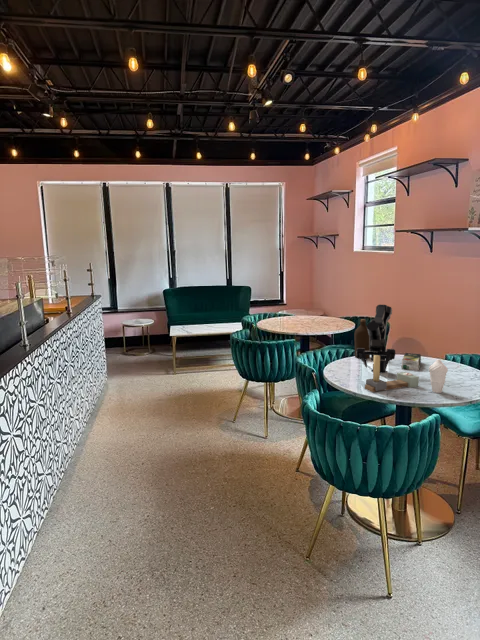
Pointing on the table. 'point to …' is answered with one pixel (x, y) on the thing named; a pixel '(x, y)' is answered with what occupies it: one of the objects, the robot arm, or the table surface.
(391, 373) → the table surface
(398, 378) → the gauge cabinet
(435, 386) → the soft serve ice cream cone
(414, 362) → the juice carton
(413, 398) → the table surface
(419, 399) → the table surface
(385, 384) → the grey block with handle
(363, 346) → the olive oil
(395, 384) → the rail
